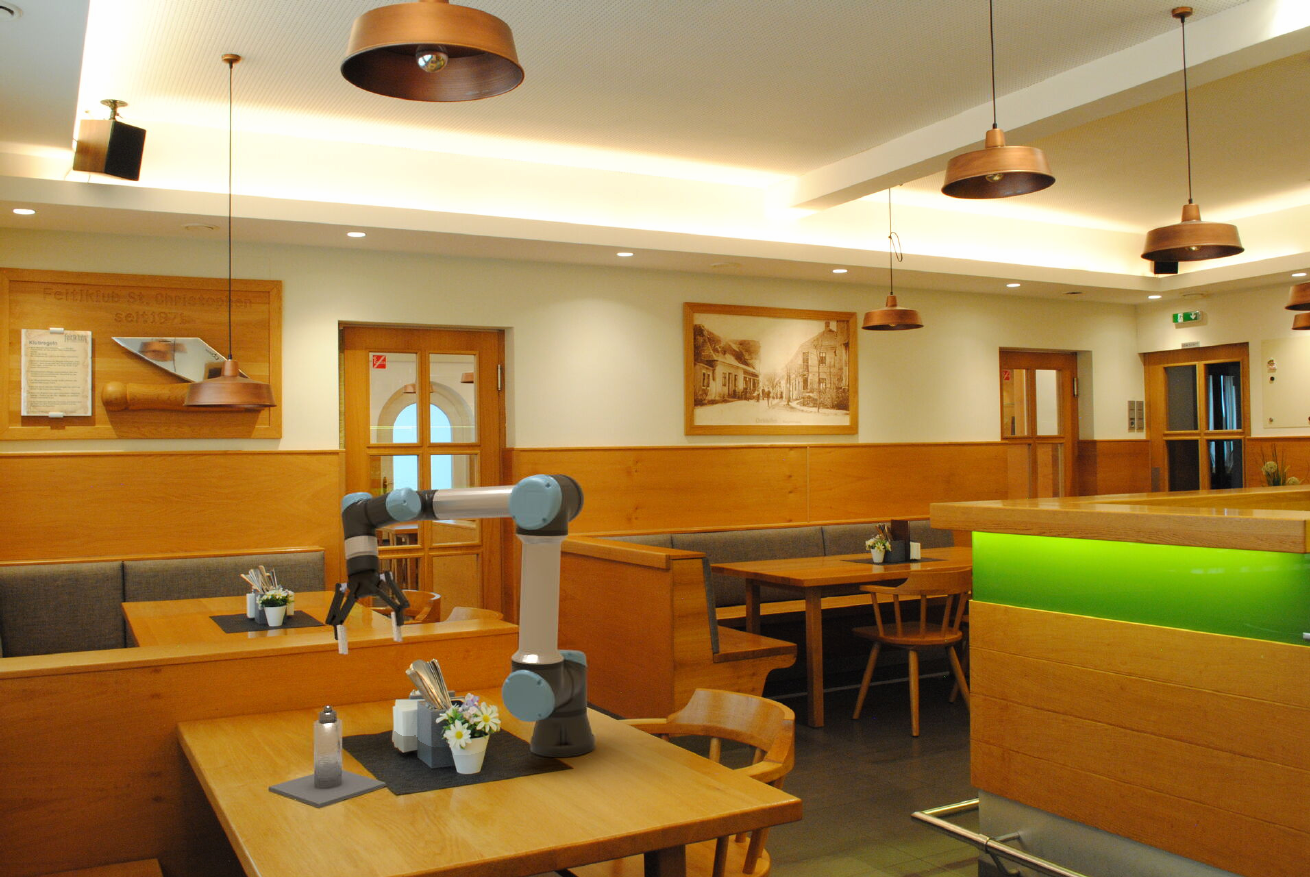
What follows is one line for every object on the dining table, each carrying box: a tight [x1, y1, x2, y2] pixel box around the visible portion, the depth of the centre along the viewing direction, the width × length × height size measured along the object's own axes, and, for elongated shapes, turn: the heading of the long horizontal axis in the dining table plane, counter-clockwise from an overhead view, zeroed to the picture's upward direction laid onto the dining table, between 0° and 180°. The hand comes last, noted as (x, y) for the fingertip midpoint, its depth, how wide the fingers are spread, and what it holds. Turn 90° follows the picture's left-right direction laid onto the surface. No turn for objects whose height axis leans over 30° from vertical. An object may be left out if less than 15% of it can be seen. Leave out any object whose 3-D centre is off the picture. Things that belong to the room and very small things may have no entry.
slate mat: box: [268, 769, 387, 809], centre depth 209 cm, size 18×16×1 cm
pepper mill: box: [313, 704, 343, 789], centre depth 209 cm, size 6×6×16 cm
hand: (370, 647), depth 230 cm, fingers open, 13 cm apart
